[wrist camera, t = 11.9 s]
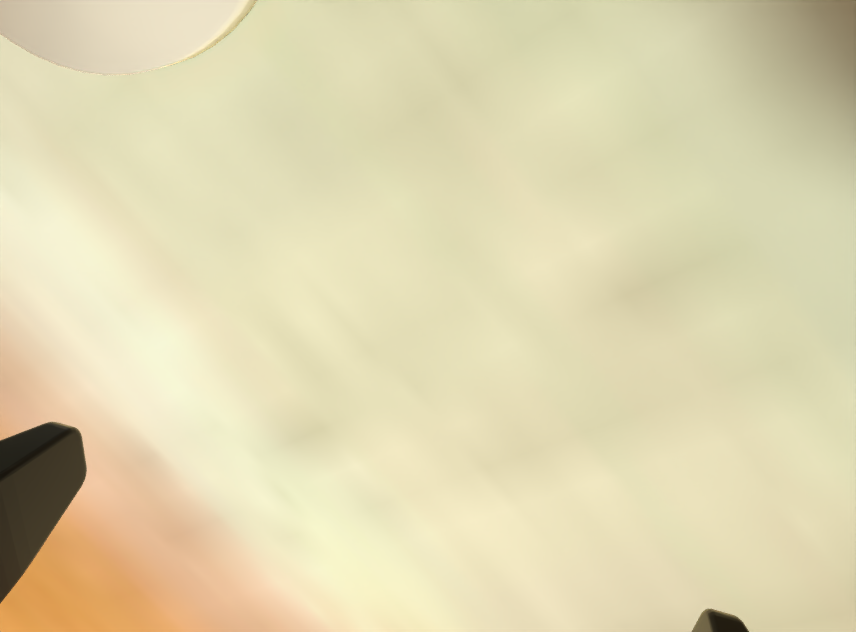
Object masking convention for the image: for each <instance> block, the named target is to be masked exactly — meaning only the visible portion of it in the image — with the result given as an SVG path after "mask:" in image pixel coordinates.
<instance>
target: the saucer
mask: <svg viewBox="0 0 856 632" xmlns="http://www.w3.org/2000/svg"><path fill="white" fill-rule="evenodd" d="M256 1H257V0H0V34H1V35H3V36H4V37H5V38H7V39H8V40H9V41H11V42H13V43H14V44H16V45H18V46H19V47H21V48H23V49H25V50H26V51H28V52H30V53H32V54H33V55H35V56H38V57H40V58H42V59H45V60H47V61H49V62H52V63H54V64H56V65H59V66H62V67H66V68H69V69H73V70H76V71H80V72H85V73H93V74H100V75H130V74H136V73H141V72H147V71H152V70H155V69H159V68H163V67H166V66H170V65H174V64H176V63H179V62H182V61H185V60H187V59H190V58H193V57H195V56H197V55H199V54H201V53H202V52H204V51H206V50H208V49H209V48H211V47H213V46H215V45H216V44H217V43H218V42H219V41H221V40H222V39H223V38H224V37H226V36H227V35H228V34H229V33H230V32H232V31H233V30H234V29H235V28H236V27H237V25H238V24H239V23H240V22H241V21H242V20H243V19H244V18H245V16H246V15H247V14H248V13H249V12H250V11H251V9H252V7H253V6H254V4H255V3H256Z"/></svg>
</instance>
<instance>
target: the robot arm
mask: <svg viewBox="0 0 856 632" xmlns="http://www.w3.org/2000/svg"><path fill="white" fill-rule="evenodd" d="M86 471H87V468H86V461H85V454H84V448H83V441H82V436H81V433H80V431H79V430H78V429H77V428H75V427H72V426H68V425H65V424H61V423H57V422H48V423H45V424H42V425H40V426H37V427H34V428H32V429H29V430H27V431H24V432H21V433H19V434H16V435H14V436H11V437H8V438H6V439H3V440H1V441H0V603H1V602H2V601H3V599H4V598H5V597H6V596H7V594H8V593H9V592H10V591H11V589H12V588H13V587H14V585H15V584H16V583H17V582H18V580H19V579H20V578H21V576H22V575H23V574H24V572H25V571H26V569H27V568H28V567H29V565H30V564H31V562H32V561H33V559H34V558H35V556H36V555H37V553H38V552H39V550H40V549H41V547H42V546H43V544H44V543H45V541H46V540H47V538H48V536H49V535H50V533H51V532H52V530H53V529H54V527H55V526H56V524H57V523H58V521H59V520H60V518H61V517H62V515H63V514H64V512H65V511H66V509H67V508H68V506H69V505H70V503H71V501H72V500H73V498H74V497H75V495H76V494H77V492H78V491H79V489H80V488H81V486H82V484H83V482H84V480H85V477H86ZM692 632H749V631H748V629H747V628H746V626H745V625H744V623H743V622H742V621H741V620H740V619H739V618H738V617H736V616H734V615H731V614H728V613H724V612H721V611H717V610H714V609H706V610H705V611H703V612H702V614H701V615H700V617H699V619H698V621H697V623H696V625H695V626H694V628H693V630H692Z"/></svg>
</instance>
